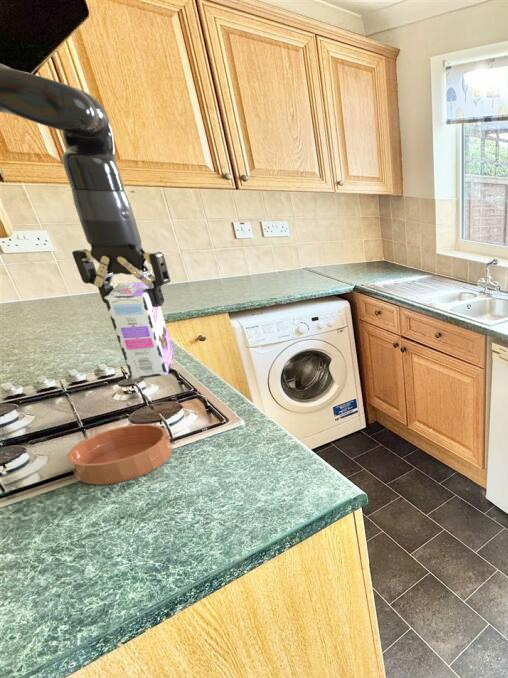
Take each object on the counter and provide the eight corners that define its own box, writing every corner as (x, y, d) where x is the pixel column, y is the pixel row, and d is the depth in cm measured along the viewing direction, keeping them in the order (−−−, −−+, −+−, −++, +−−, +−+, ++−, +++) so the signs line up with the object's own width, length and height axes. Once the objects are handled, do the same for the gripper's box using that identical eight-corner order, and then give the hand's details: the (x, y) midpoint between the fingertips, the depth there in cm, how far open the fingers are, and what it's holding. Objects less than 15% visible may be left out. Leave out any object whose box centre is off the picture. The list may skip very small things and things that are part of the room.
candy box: (168, 375, 84) (143, 295, 78) (130, 380, 82) (101, 297, 75) (175, 353, 95) (154, 280, 88) (142, 356, 92) (117, 281, 85)
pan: (54, 488, 74) (44, 467, 72) (110, 444, 87) (103, 425, 85) (145, 483, 76) (138, 463, 74) (187, 441, 89) (181, 423, 87)
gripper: (163, 218, 81) (186, 302, 87) (77, 213, 78) (107, 300, 85) (138, 220, 74) (165, 311, 81) (43, 216, 71) (79, 310, 78)
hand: (135, 305), depth 83 cm, fingers closed on candy box, 7 cm apart
